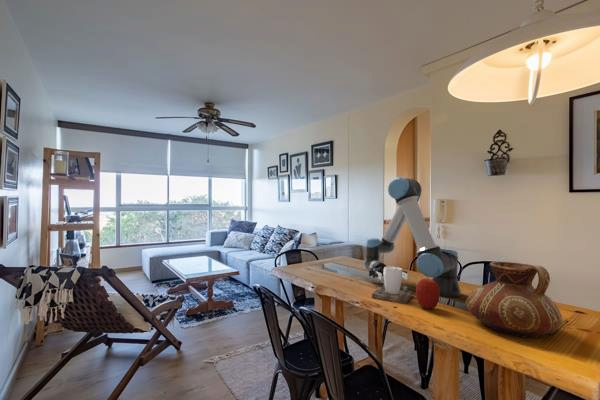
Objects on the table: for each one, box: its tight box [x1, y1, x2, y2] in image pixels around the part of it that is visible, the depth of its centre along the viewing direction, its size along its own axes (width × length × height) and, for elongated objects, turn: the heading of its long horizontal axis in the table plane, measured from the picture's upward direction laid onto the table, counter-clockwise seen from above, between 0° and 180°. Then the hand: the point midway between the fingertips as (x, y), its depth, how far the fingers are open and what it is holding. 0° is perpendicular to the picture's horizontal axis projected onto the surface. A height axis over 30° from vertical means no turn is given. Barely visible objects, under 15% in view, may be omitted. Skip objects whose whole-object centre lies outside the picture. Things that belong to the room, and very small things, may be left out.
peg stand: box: [371, 283, 413, 305], centre depth 153 cm, size 16×16×4 cm
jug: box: [465, 261, 563, 338], centre depth 119 cm, size 30×30×25 cm
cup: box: [383, 265, 403, 294], centre depth 153 cm, size 9×9×12 cm
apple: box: [415, 278, 441, 310], centre depth 137 cm, size 10×10×14 cm
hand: (394, 277), depth 151 cm, fingers open, 13 cm apart
